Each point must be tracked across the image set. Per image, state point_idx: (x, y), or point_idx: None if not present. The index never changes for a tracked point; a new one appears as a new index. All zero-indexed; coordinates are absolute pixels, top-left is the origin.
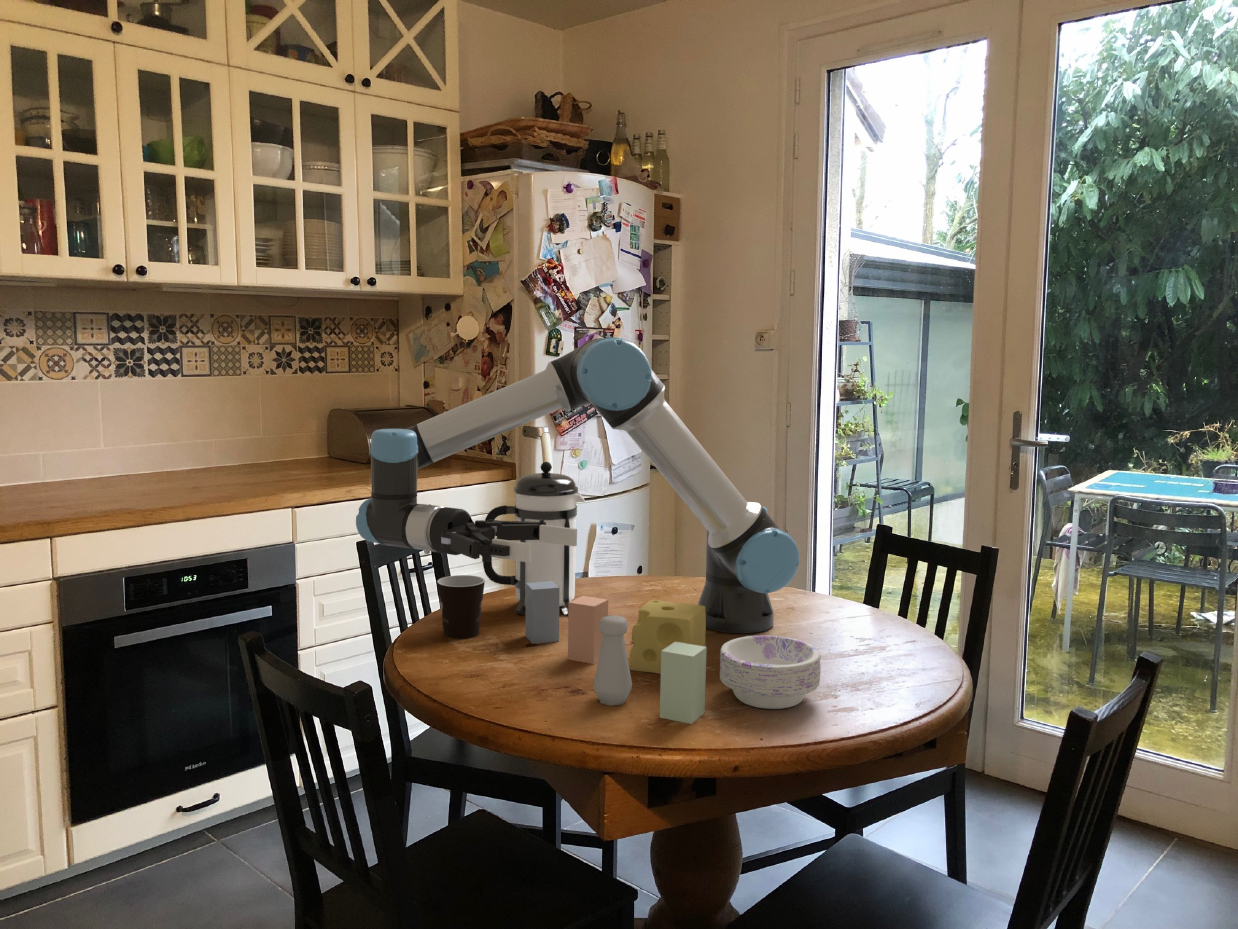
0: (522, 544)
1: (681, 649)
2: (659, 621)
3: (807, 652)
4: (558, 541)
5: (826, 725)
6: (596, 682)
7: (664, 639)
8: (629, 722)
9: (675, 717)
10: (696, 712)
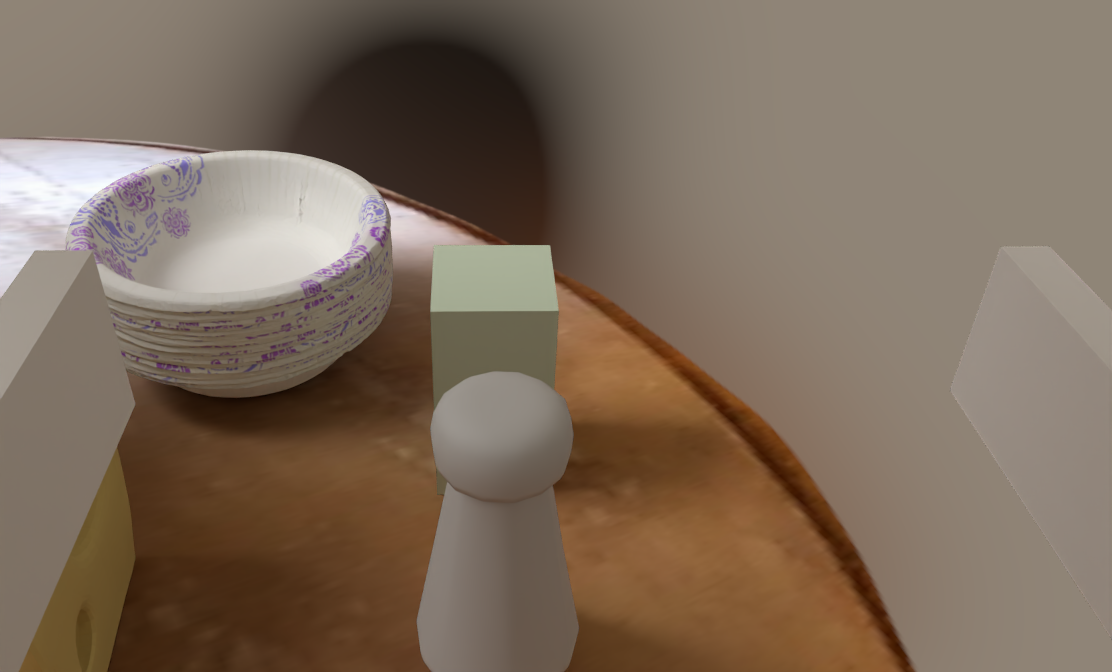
0: (1088, 296)
1: (503, 279)
2: None
3: (178, 183)
4: (65, 523)
5: None
6: (564, 646)
7: None
8: (639, 541)
9: None
10: None
